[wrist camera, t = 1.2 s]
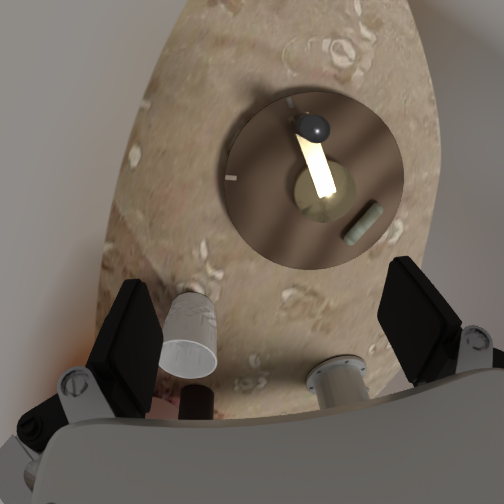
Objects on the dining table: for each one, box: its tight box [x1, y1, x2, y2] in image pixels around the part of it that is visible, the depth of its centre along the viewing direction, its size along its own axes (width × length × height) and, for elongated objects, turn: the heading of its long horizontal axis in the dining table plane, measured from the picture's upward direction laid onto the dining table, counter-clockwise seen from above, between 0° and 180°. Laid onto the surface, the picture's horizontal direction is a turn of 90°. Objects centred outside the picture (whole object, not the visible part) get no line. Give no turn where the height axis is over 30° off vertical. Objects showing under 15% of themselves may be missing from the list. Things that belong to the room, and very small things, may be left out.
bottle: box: [178, 385, 214, 420], centre depth 45 cm, size 7×7×20 cm
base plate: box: [224, 92, 404, 270], centre depth 32 cm, size 22×22×4 cm
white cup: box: [159, 292, 217, 379], centre depth 38 cm, size 8×8×10 cm
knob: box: [288, 112, 356, 223], centre depth 27 cm, size 13×7×7 cm, turn 23°
